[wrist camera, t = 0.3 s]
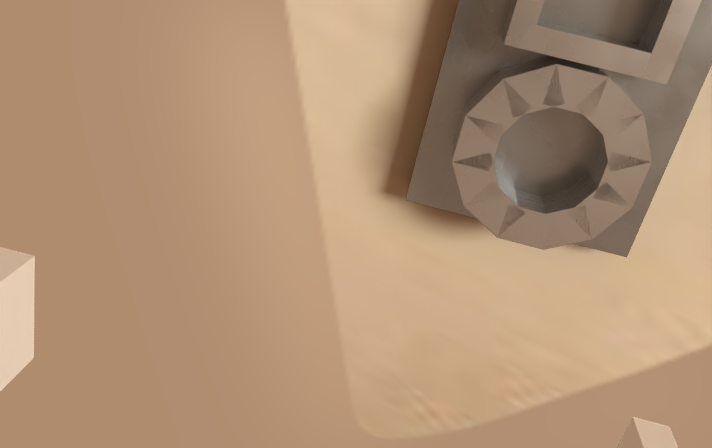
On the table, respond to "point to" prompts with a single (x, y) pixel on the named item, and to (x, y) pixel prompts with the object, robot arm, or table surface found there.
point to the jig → (561, 115)
